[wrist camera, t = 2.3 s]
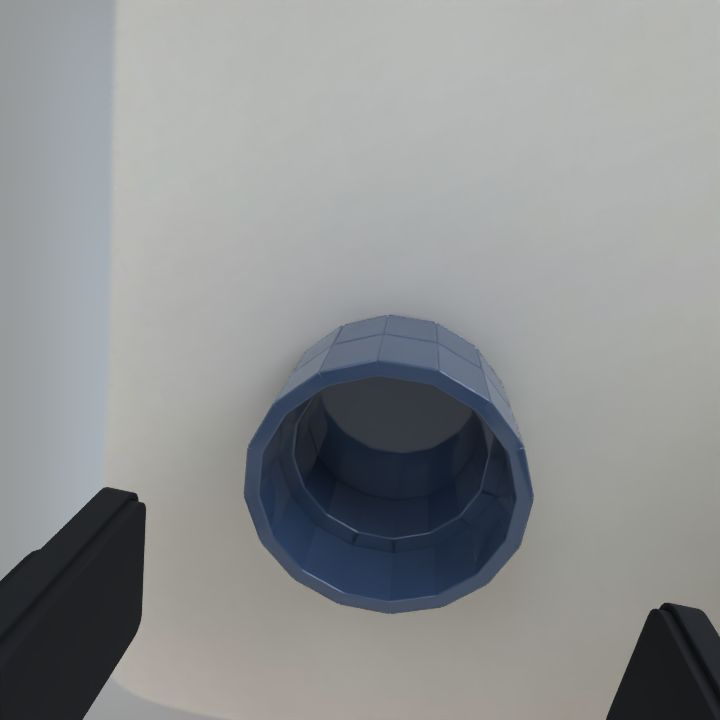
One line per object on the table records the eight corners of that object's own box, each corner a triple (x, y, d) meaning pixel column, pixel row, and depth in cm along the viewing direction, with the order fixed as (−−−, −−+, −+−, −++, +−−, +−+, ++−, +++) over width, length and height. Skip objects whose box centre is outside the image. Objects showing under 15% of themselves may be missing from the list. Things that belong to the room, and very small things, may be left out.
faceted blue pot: (243, 392, 18) (188, 461, 14) (421, 265, 16) (419, 302, 12) (371, 545, 20) (356, 651, 15) (549, 445, 18) (587, 534, 13)
